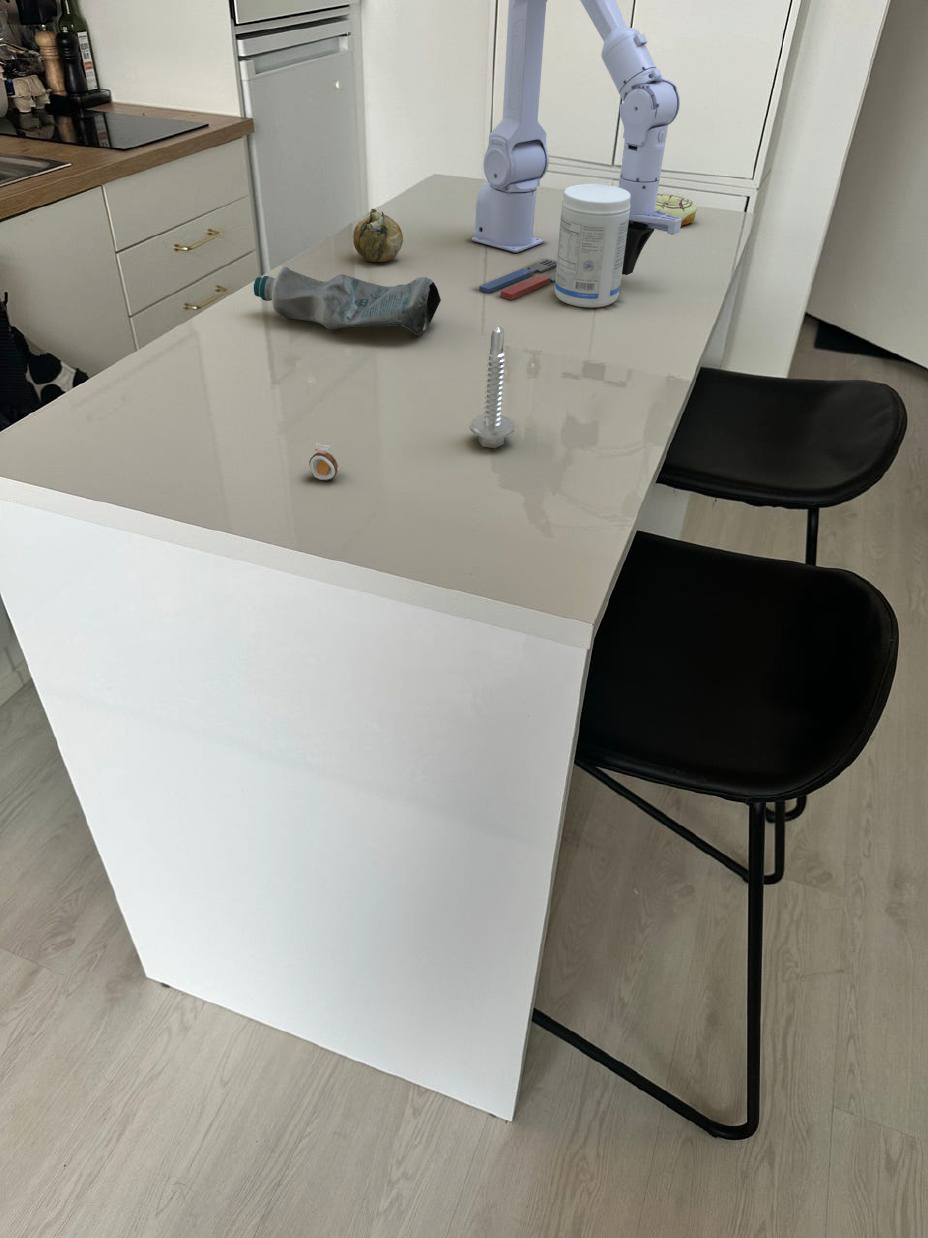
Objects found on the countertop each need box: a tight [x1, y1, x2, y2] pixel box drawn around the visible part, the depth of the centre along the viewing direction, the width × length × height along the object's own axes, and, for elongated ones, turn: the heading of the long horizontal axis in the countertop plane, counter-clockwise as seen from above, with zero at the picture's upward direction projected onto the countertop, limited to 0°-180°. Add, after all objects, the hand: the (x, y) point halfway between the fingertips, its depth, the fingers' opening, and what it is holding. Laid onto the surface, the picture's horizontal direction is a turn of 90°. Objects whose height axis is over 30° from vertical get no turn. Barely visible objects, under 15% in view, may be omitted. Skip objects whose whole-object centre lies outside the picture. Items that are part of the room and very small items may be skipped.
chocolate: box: [308, 440, 339, 481], centre depth 92 cm, size 3×2×4 cm
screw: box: [469, 325, 516, 449], centre depth 96 cm, size 13×5×5 cm
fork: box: [478, 258, 557, 294], centre depth 142 cm, size 18×2×1 cm, turn 142°
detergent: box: [253, 266, 442, 337], centre depth 123 cm, size 13×7×25 cm
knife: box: [500, 271, 556, 301], centre depth 141 cm, size 20×2×1 cm, turn 142°
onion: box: [352, 208, 404, 263], centre depth 144 cm, size 8×8×8 cm
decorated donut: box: [655, 193, 698, 227], centre depth 169 cm, size 10×11×4 cm
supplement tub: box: [554, 183, 631, 309], centre depth 132 cm, size 10×10×15 cm
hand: (625, 272), depth 142 cm, fingers closed
